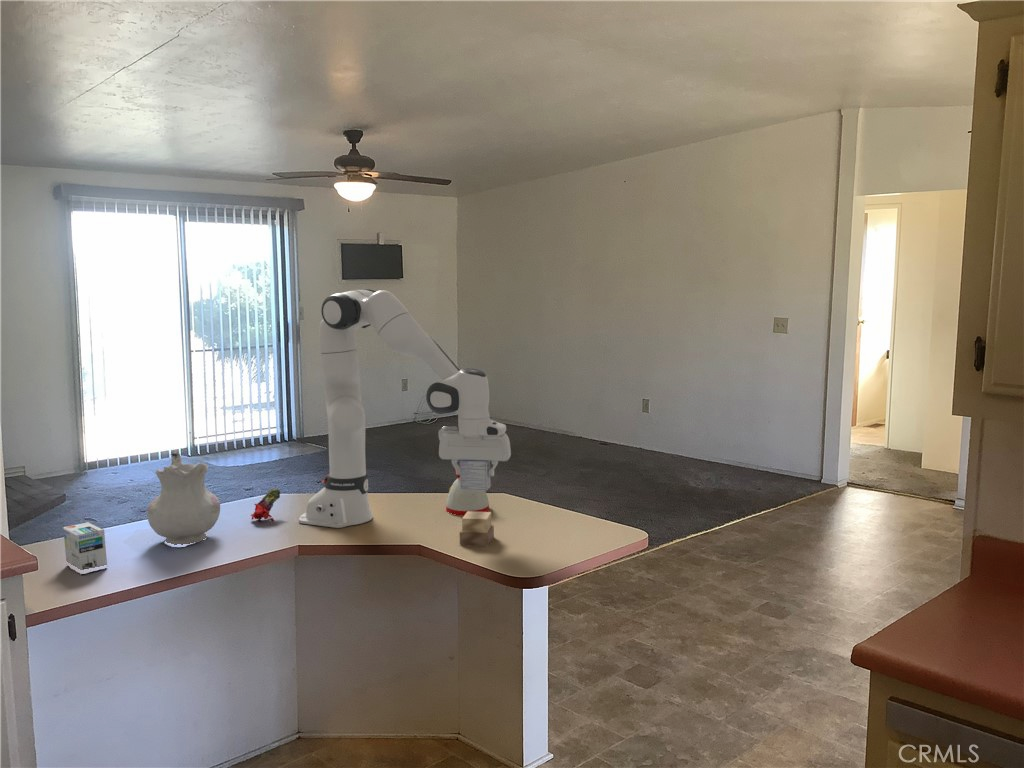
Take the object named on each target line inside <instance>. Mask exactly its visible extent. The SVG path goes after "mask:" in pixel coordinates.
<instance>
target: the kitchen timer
mask: <svg viewBox="0 0 1024 768" xmlns="http://www.w3.org/2000/svg"><path fill="white" fill-rule="evenodd" d="M458 466H459V468H460V465H458ZM453 471H454V473H455V475H456V469H455V468H454V469H453ZM456 477H457V478H456V479H455V480H454V482H453V483H452V485H451V486H450V487H448V495H447V498H446V504H445V508H446V512H447V513H448V512H449V513H448V514H450V513H452V514H451V515H453V514H456V515H455V516H458V515H465V514H466V513H467V511H474V512H487V511H488V512H489V510H490V504H489V498H488V494H487V490H461V489H460V475H456Z"/></svg>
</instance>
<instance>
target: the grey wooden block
mask: <svg viewBox="0 0 1024 768" xmlns="http://www.w3.org/2000/svg"><path fill="white" fill-rule="evenodd" d="M459 466H460V489H461V490H485V491H488V490H489V489H490V487H492V484H491V483H492V482H491V476H488V470H489V469H491V461H485V460H459Z"/></svg>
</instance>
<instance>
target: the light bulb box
mask: <svg viewBox="0 0 1024 768" xmlns="http://www.w3.org/2000/svg"><path fill="white" fill-rule="evenodd" d="M62 530H63V540H64V541H63V542H64V552H65V562H66V561H67V562H68V563H70V564H71V565H73V566H75V567H77V568H78V569H80V570H84V569H89V568H95V567H100V566H104V565H107V566H108V558H107V549H106V548H107V547H106V537H105V536H106V535H105V529H103V528H101V527H99V526H96V525H95V524H93V523H91V522H88V521H87V522H83V523H77V524H73V525H68V526H64V527H62Z"/></svg>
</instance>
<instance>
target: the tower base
mask: <svg viewBox="0 0 1024 768" xmlns="http://www.w3.org/2000/svg"><path fill="white" fill-rule="evenodd" d="M494 527H495V525H494V524H491V527H490V529H489V531H488V532H487V533H469V532H462V529H461V530H460V531H459V545H460V544H461V545H460V546H467V545H478V546H477V547H484V546H488V547H489V545H490V544H491V543H492V541H493V540H492V539H494V538H495V529H494ZM489 543H490V544H489Z"/></svg>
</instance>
